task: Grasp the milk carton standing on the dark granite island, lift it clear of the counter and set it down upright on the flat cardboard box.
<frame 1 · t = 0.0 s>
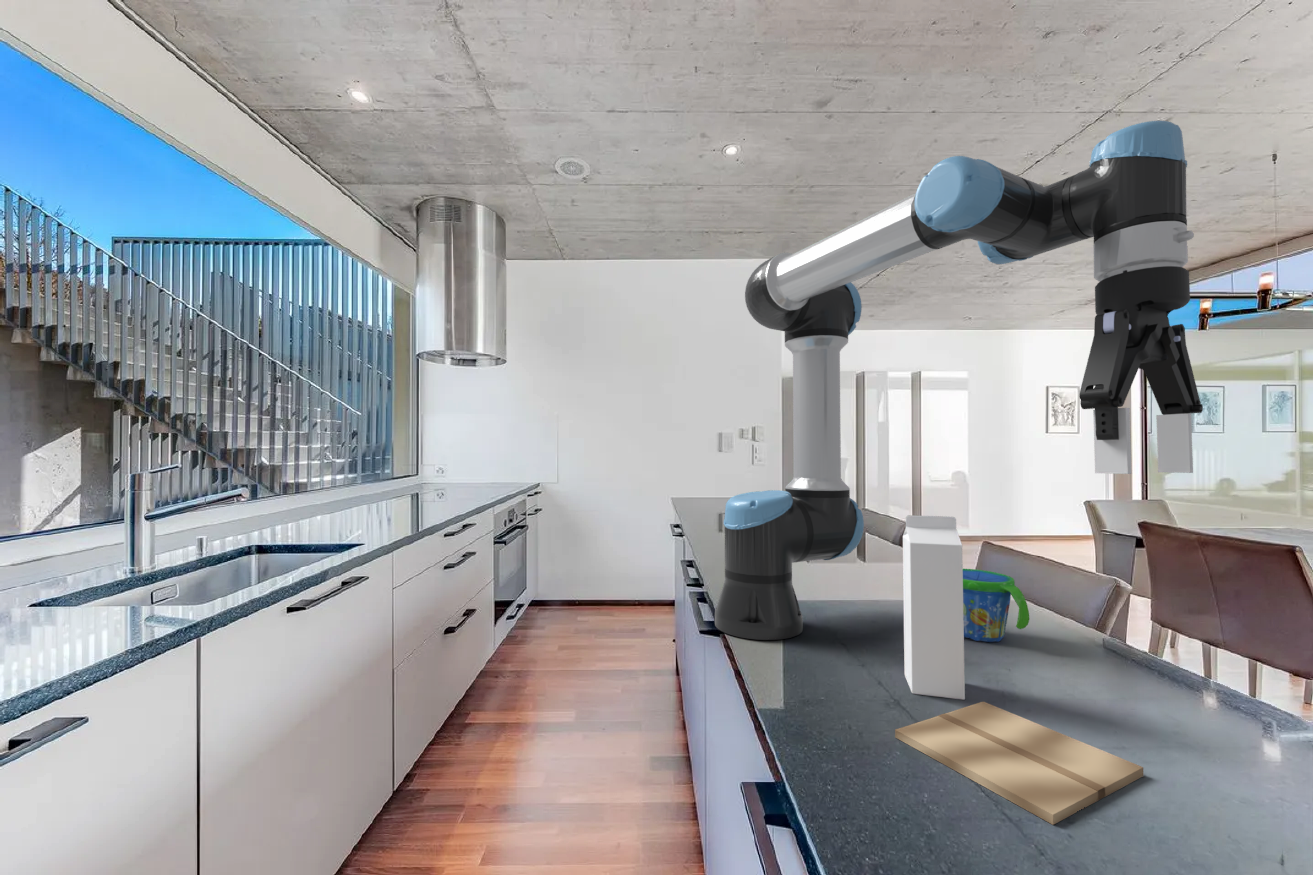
hand: (1145, 473, 57), 28 cm above the countertop, fingers open, 13 cm apart
flat cardboard box: (1011, 755, 53), on the countertop
milk: (933, 688, 69), on the countertop
snack cup: (977, 637, 89), on the countertop
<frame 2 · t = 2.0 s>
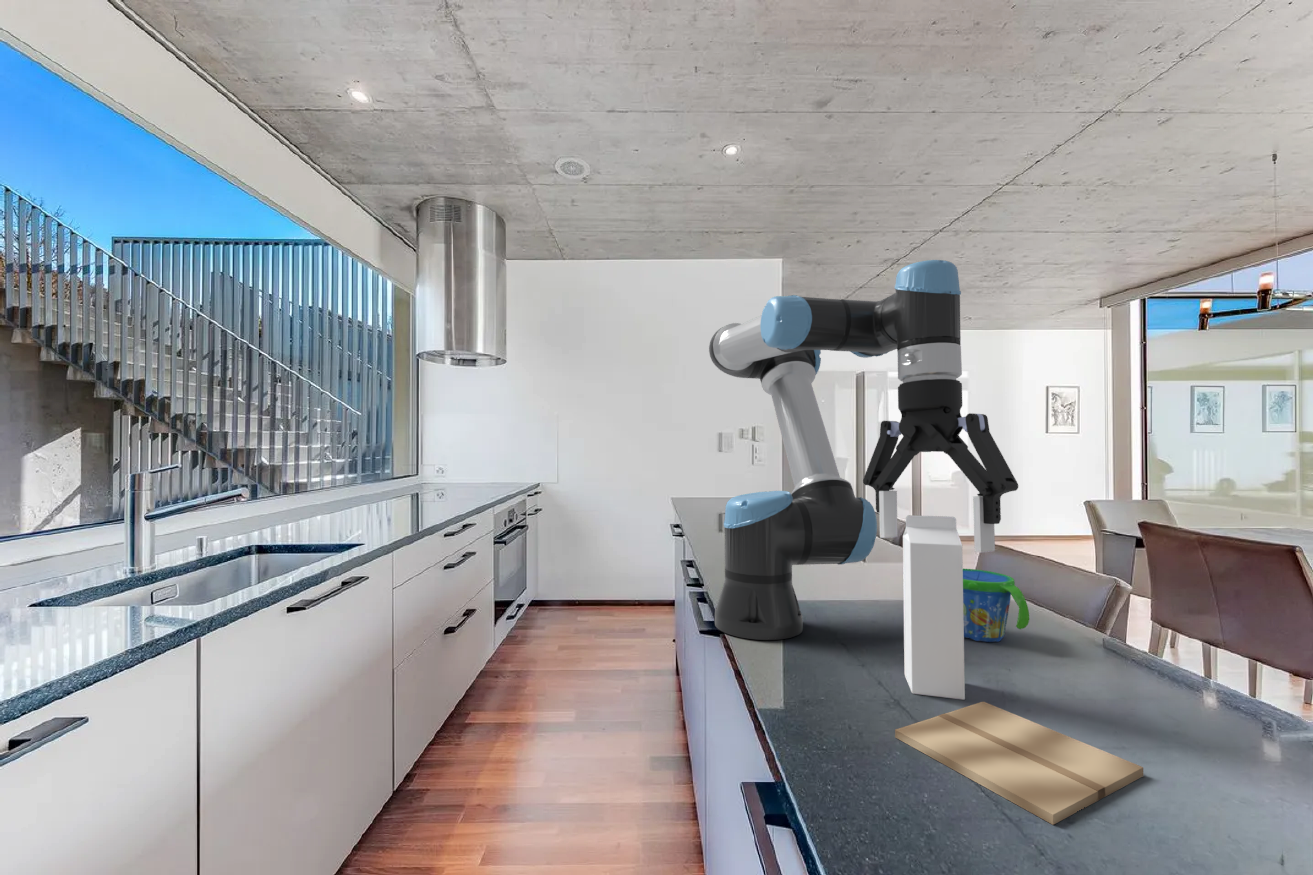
hand: (932, 544, 69), 18 cm above the countertop, fingers open, 13 cm apart
nothing on the countertop moved.
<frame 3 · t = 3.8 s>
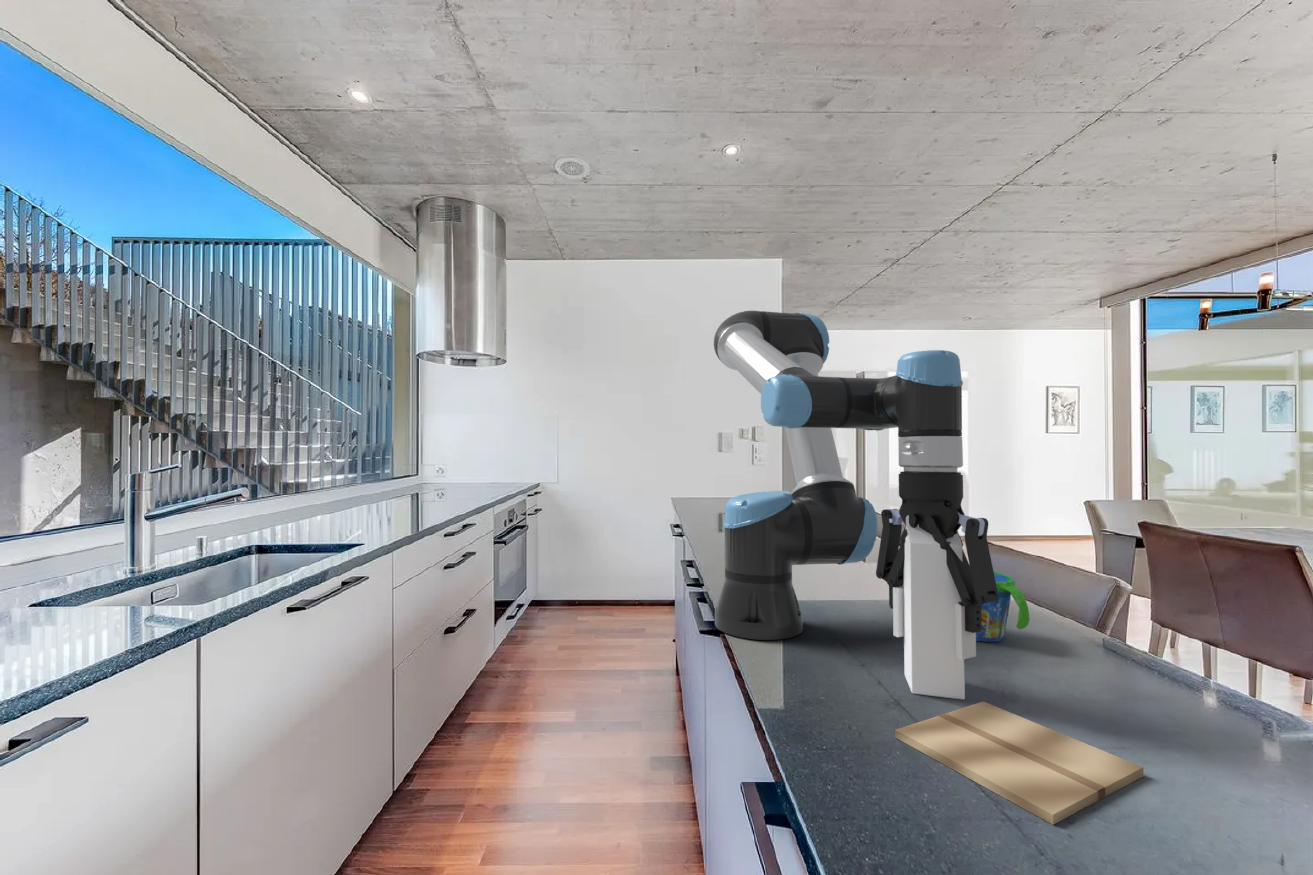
hand: (932, 645, 69), 5 cm above the countertop, fingers closed on milk, 8 cm apart
milk: (933, 688, 69), on the countertop, touching gripper
everything else where it was.
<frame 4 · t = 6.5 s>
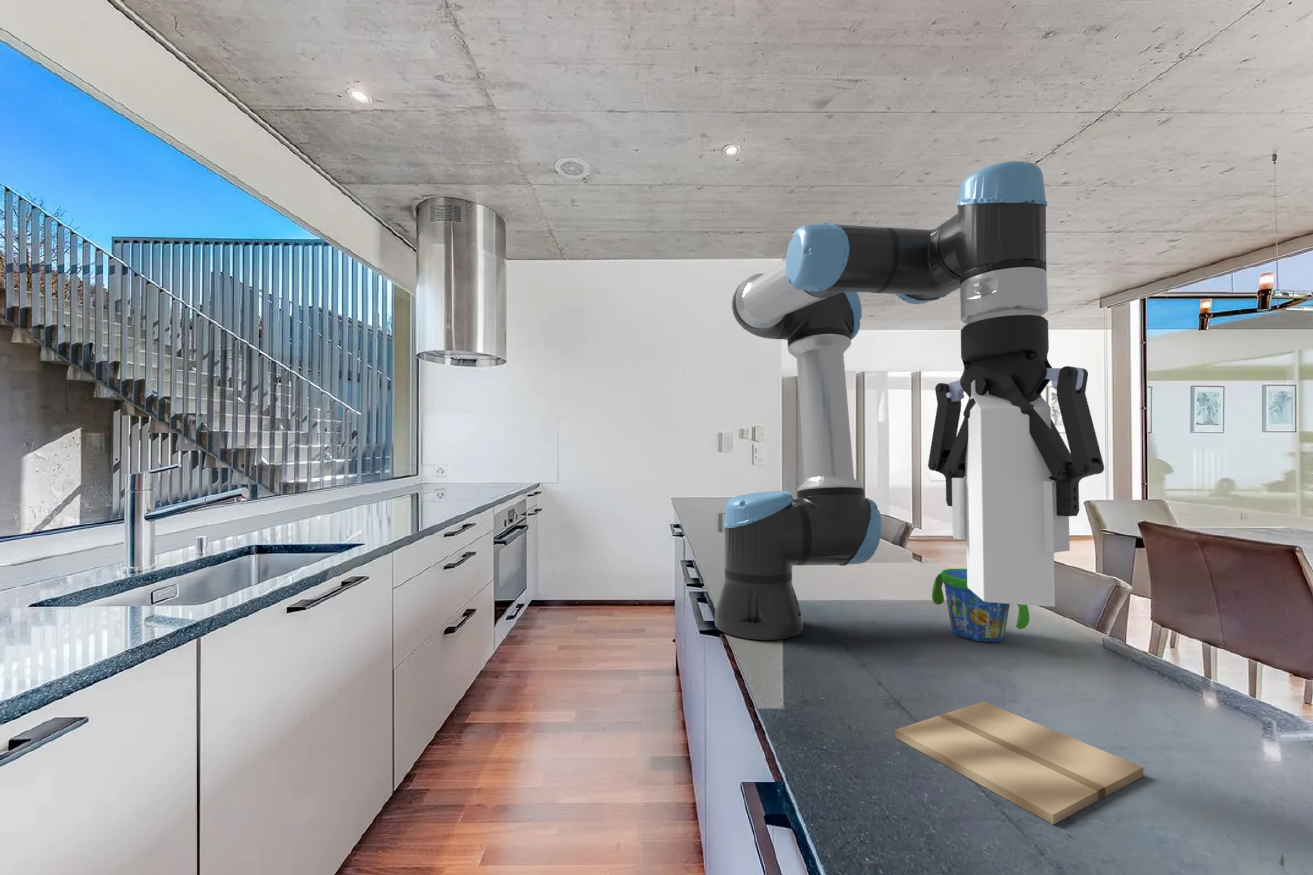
hand: (1007, 543, 54), 21 cm above the countertop, fingers closed on milk, 8 cm apart
milk: (1008, 598, 54), point 15 cm above the countertop, touching gripper
everything else where it was.
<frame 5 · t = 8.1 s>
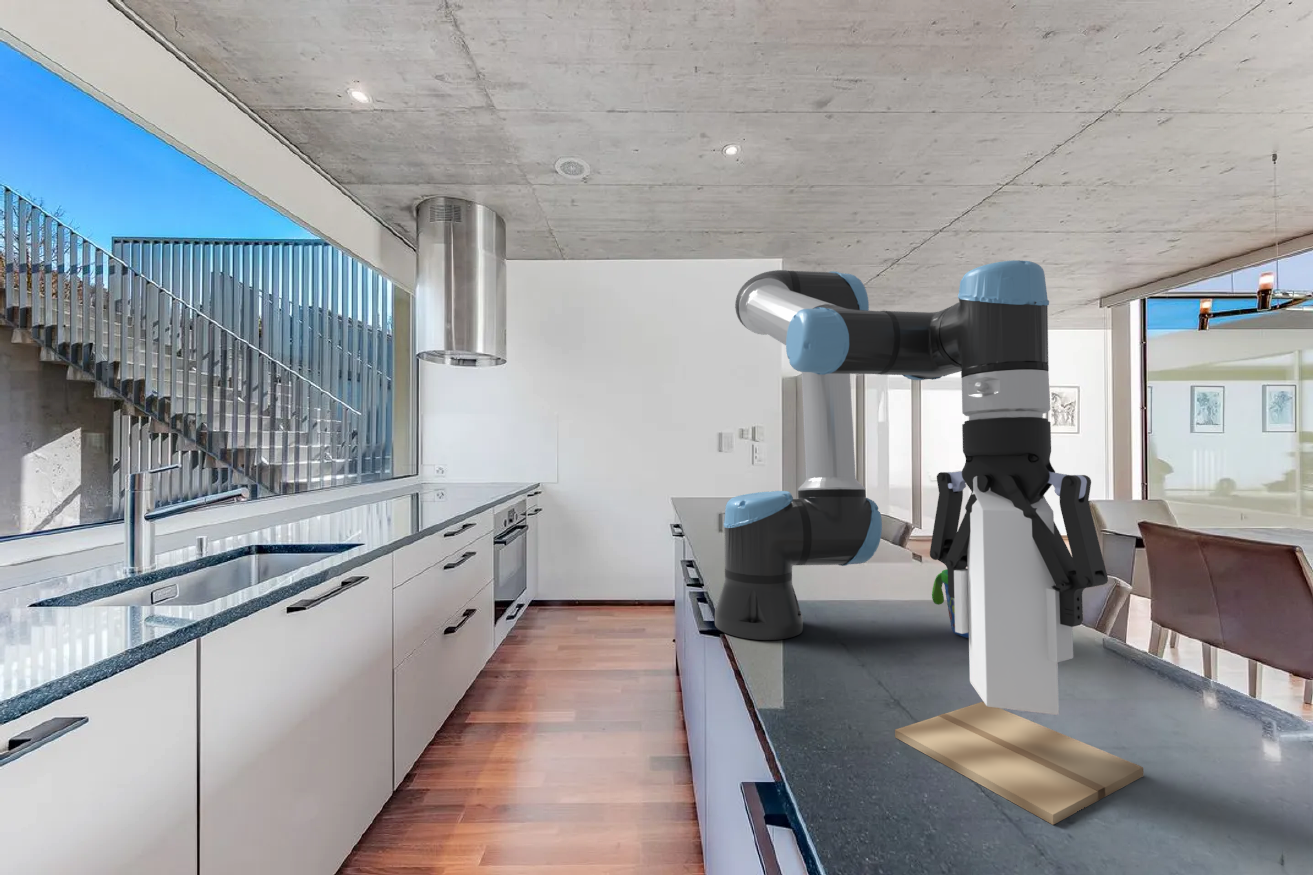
hand: (1010, 643, 53), 11 cm above the countertop, fingers closed on milk, 8 cm apart
milk: (1011, 699, 53), point 5 cm above the countertop, touching gripper
everything else where it was.
when the fingers open (7 cm above the countertop, at t = 9.4 s): milk drops 1 cm, resting on flat cardboard box.
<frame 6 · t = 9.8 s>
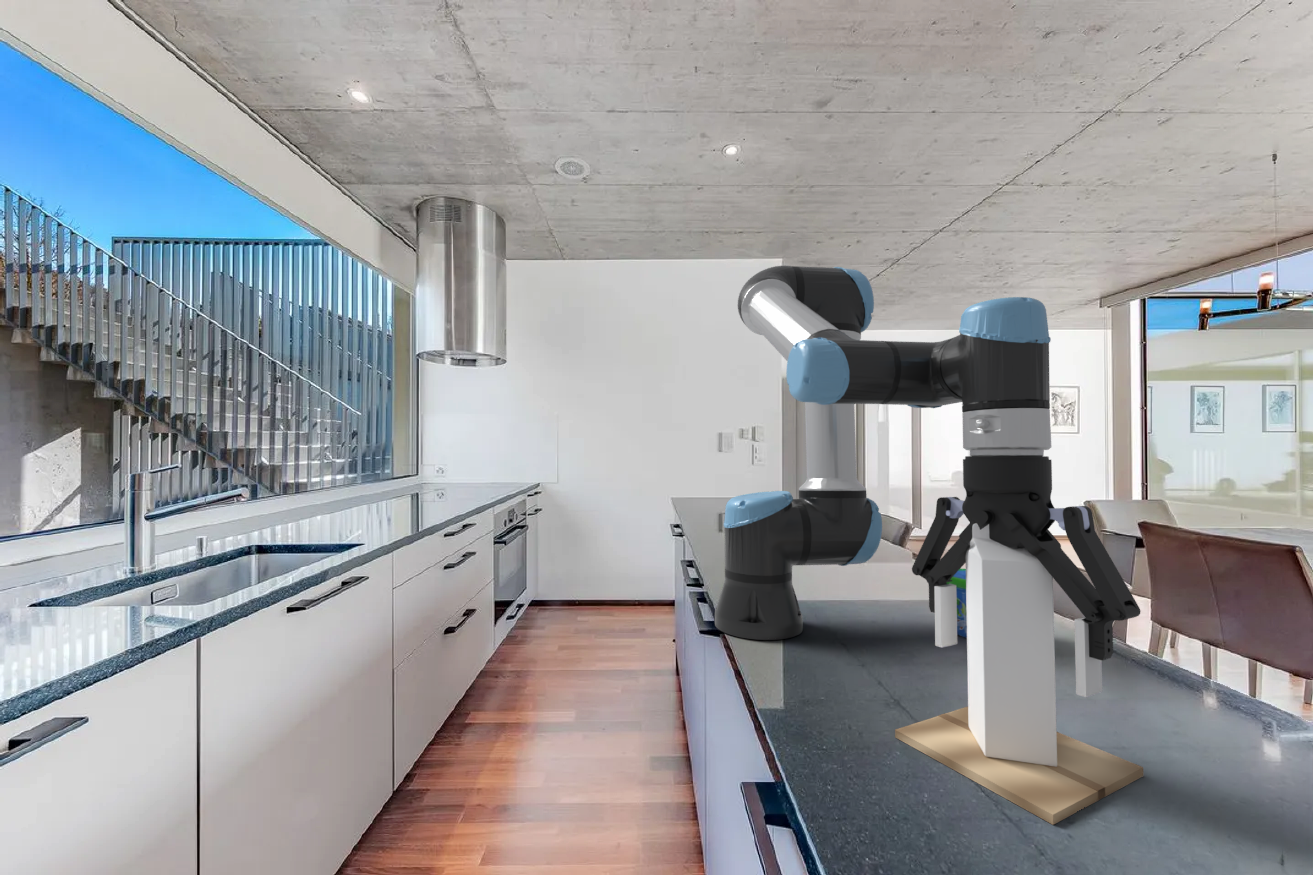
hand: (1009, 666, 53), 9 cm above the countertop, fingers open, 13 cm apart
milk: (1009, 747, 53), point 1 cm above the countertop, touching flat cardboard box
everything else where it was.
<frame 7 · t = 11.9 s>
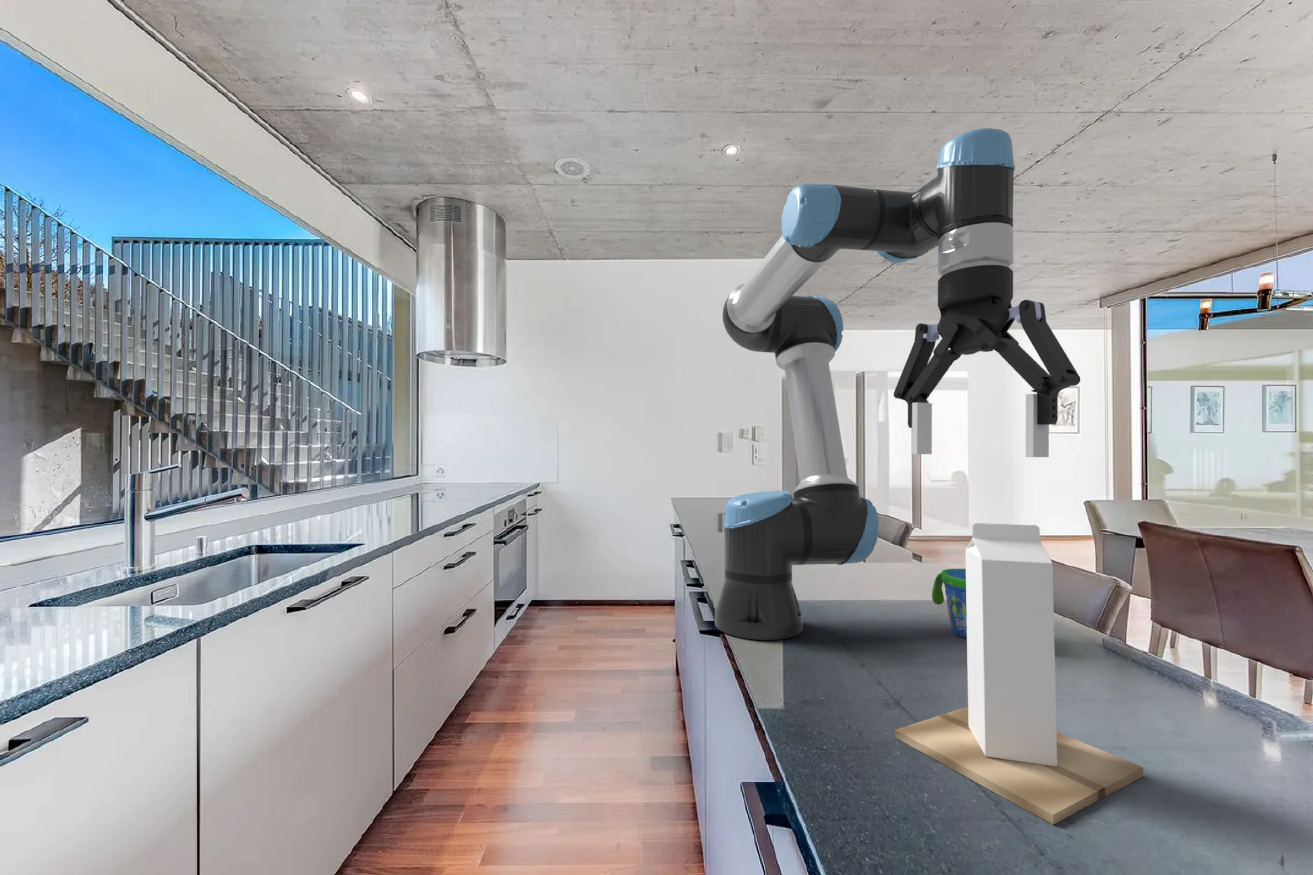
hand: (973, 455, 62), 30 cm above the countertop, fingers open, 13 cm apart
nothing on the countertop moved.
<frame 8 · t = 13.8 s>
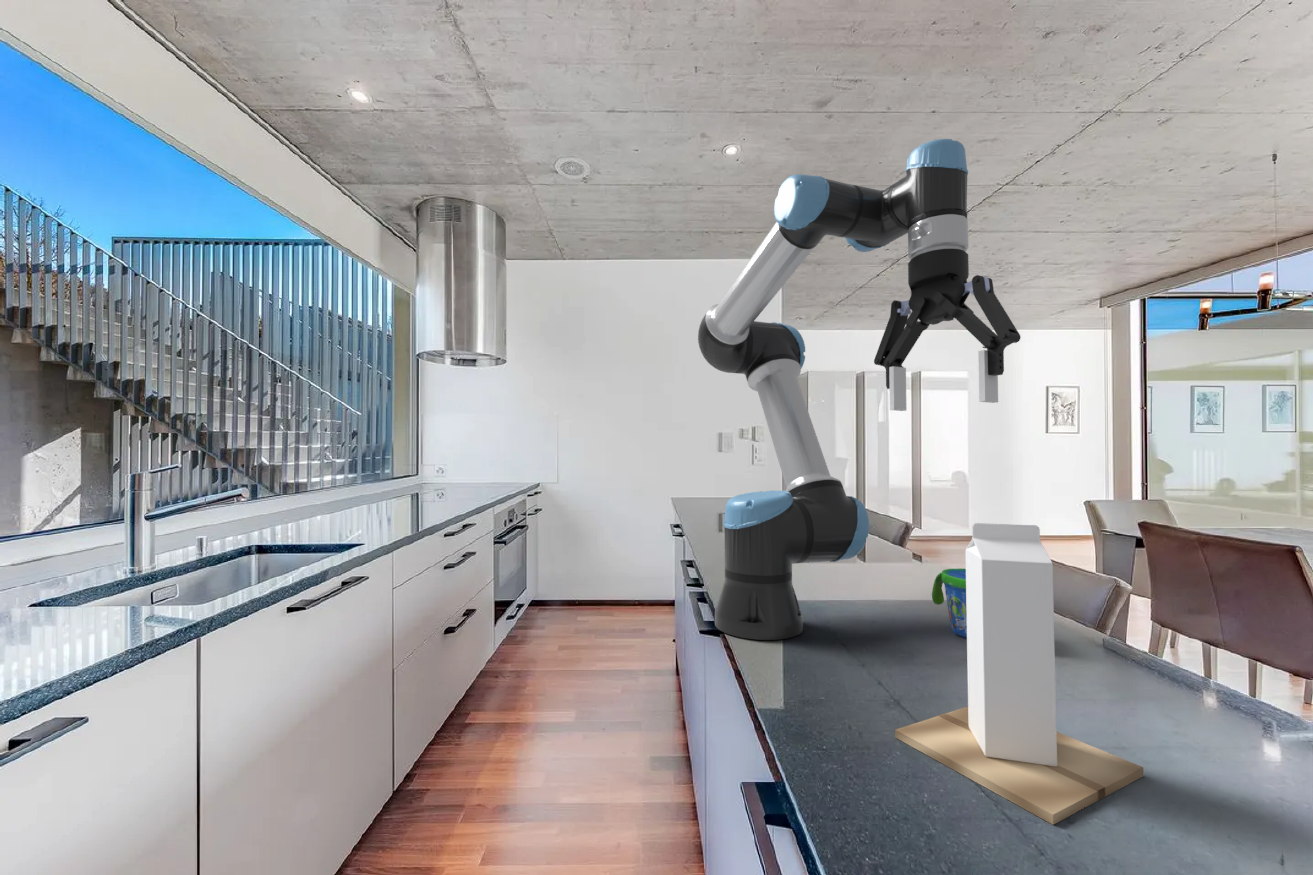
hand: (939, 406, 74), 37 cm above the countertop, fingers open, 13 cm apart
nothing on the countertop moved.
at the end: milk inside the target area on the flat cardboard box (0.2 cm from its centre), point 0.6 cm above the flat cardboard box's base; milk tilted 0°; the gripper is holding nothing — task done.
